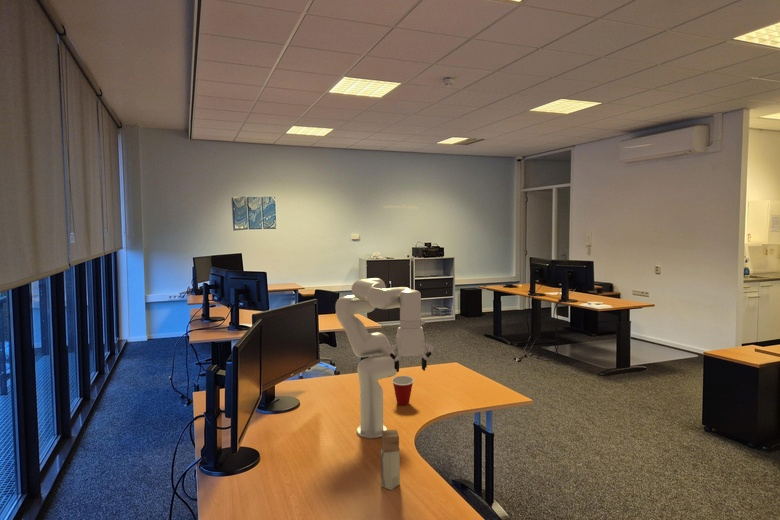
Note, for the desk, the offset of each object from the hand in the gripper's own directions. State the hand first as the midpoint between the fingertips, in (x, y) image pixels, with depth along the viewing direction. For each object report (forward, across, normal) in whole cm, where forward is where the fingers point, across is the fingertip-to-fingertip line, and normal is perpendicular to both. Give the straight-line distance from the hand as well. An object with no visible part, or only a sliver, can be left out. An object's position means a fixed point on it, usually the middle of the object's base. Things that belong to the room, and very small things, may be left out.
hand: (410, 370), depth 173 cm
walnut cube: (+20, +10, +17) cm, 28 cm away
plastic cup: (+34, -6, -53) cm, 63 cm away
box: (+34, +10, +17) cm, 39 cm away
